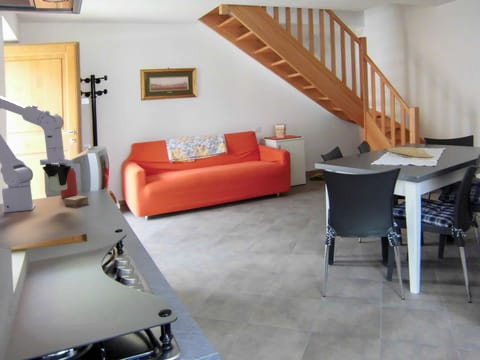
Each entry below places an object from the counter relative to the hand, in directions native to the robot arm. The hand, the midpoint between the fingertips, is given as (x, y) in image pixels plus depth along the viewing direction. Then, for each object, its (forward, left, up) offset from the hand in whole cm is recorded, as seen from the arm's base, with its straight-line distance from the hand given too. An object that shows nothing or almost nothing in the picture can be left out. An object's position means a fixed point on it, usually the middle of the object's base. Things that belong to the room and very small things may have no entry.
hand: (58, 184), depth 156 cm
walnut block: (+5, +5, -9) cm, 12 cm away
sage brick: (0, 0, -2) cm, 2 cm away
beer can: (+2, +22, -9) cm, 24 cm away
